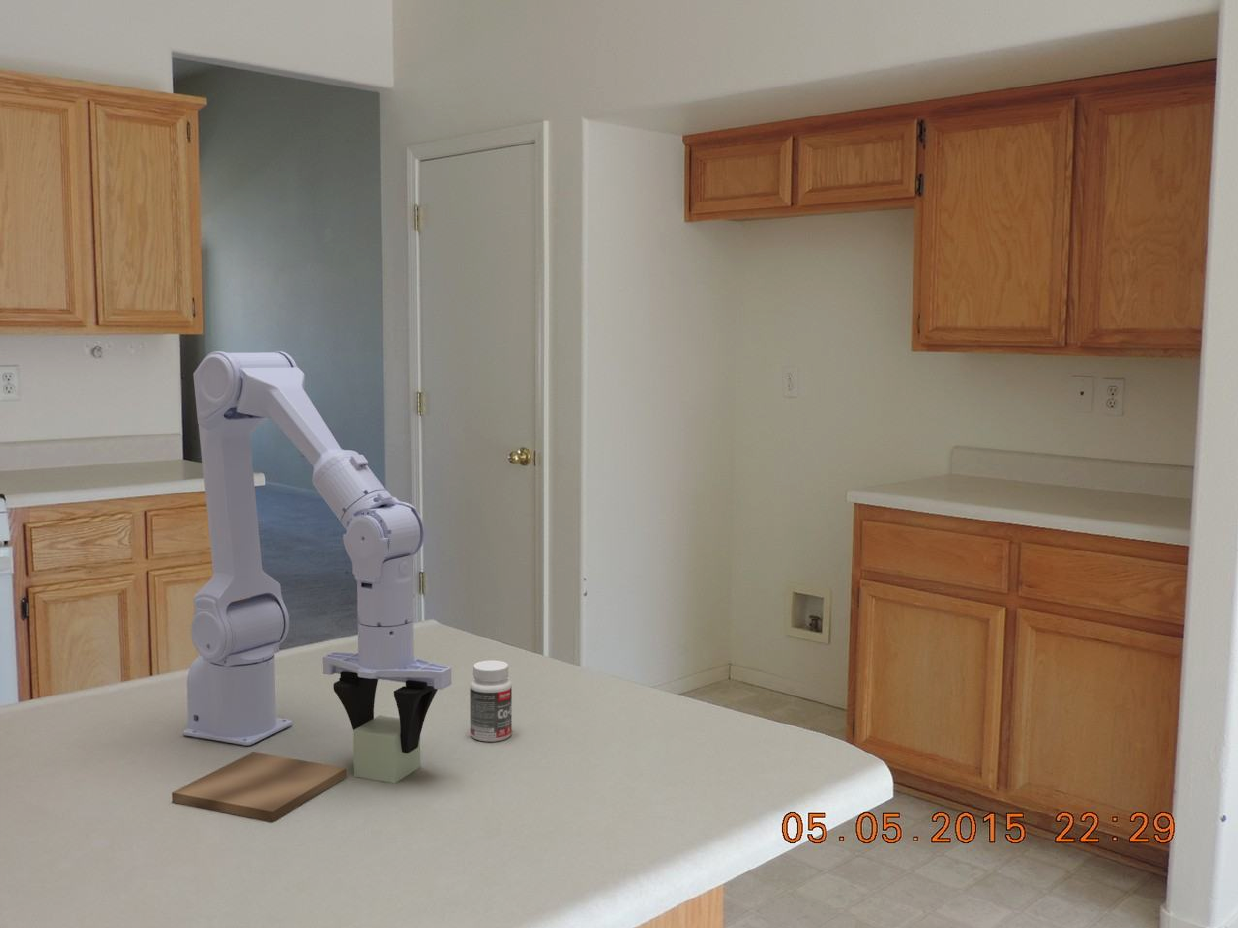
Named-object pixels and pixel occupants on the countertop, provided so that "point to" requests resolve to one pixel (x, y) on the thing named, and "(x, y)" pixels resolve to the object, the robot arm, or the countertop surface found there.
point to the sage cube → (382, 751)
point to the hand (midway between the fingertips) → (387, 746)
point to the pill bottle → (491, 702)
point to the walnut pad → (260, 786)
